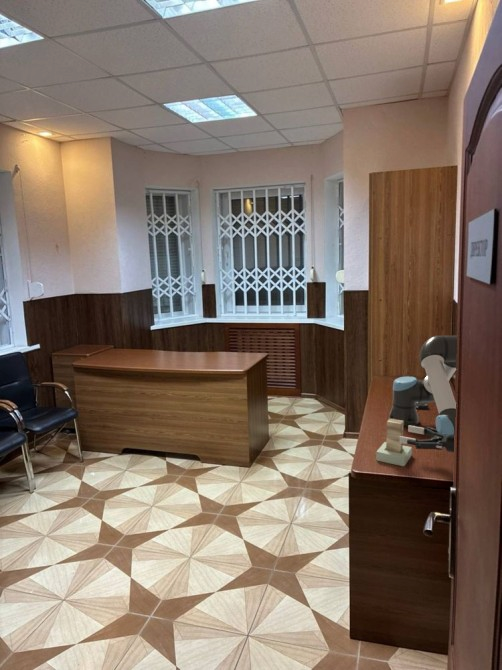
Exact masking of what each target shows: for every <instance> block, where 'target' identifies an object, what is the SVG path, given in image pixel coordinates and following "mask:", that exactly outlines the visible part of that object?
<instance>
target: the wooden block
mask: <svg viewBox="0 0 502 670" xmlns="http://www.w3.org/2000/svg"><path fill="white" fill-rule="evenodd" d="M403 423H404V421H401V420H395V419H389V418H388V420H387V421H386V441H385V442H386V451H391V452H396V453H402V451H403V446H404V443H399V440H400V436H403V437H404V426H403Z"/></svg>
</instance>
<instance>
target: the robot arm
mask: <svg viewBox="0 0 502 670" xmlns="http://www.w3.org/2000/svg"><path fill="white" fill-rule="evenodd" d="M457 335H458V334H457ZM457 335H434V336H432V337H429V338H428V339H427V340H426V341H424V343H423V344H422V346H421V348H420V351H419V362H420V365H421V367H422V368H423V369H424V370H425V373H426V377H425V378H424V379H418V378H416V377H414V376H409V375H408V376H400V377H398V378H396V379H394V380H393V384H392V406H391V408H390V409H391V410H390V412H389V415H388V420H389V419H395V420H401V421H404V423H403V427H407V428H408V429H407V431H408V433H414V434H420V435H424V436H428V437H430V438H427V439H418V438H413V437H407V436H404V435H403V436H400V440H399V443H403V445H404V444H405V445H408V446H409V445H410V446H415V449H416V450H437V451H442V450H443V448H445V450H446V451H447V452H449V453H454V435H455V417H456V404H457V402H456V400H455V399H456V398H455V395H454V393H453V391H452V387H451V385H450V379H451V378H452V377H453V375H454V374H455V373H456V370H457V369H456V354H457ZM417 402H426V403H435V405H436V409H437V411H438V415H437V416H436V417H435V420H434V421H435V423H434V424H435V428H434V427H431V426H427V427H421V426H417V425H418V424H419V421H420V417H419V415H418V411H417V409H416V403H417ZM454 454H455V453H454Z"/></svg>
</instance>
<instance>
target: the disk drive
mask: <svg viewBox="0 0 502 670" xmlns="http://www.w3.org/2000/svg"><path fill="white" fill-rule="evenodd" d="M416 410H429V404H428V402H417V403H416Z"/></svg>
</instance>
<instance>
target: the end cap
mask: <svg viewBox="0 0 502 670" xmlns="http://www.w3.org/2000/svg"><path fill="white" fill-rule="evenodd" d="M412 451H413V447H412V446H409V445H408V446H407V445H403V451H402V453H396V452H391V451H386V441H384V442H383V443H382V444H381V445H380V447H378V449H377V450H376V454H375V455H376V459H375V461H378V462H383V463H386V464H392V465H395V466H401V467H405V466H406V465H407V463H408V462H409V460H410V459H411V457H412Z"/></svg>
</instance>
